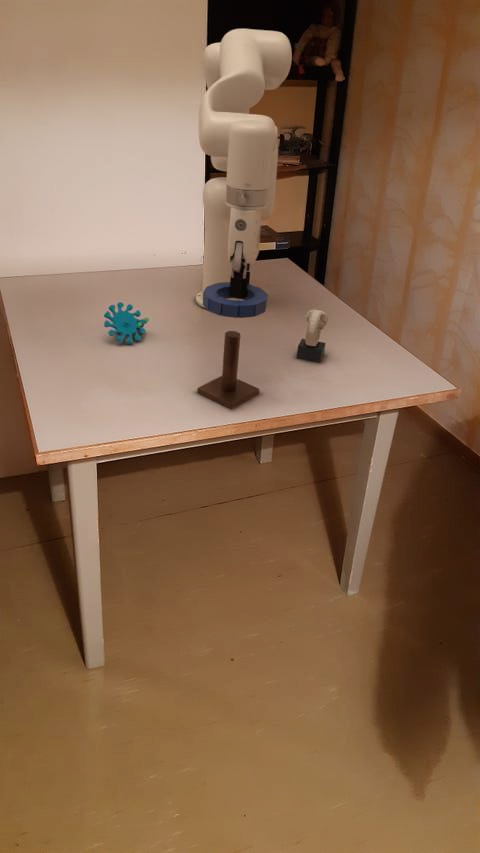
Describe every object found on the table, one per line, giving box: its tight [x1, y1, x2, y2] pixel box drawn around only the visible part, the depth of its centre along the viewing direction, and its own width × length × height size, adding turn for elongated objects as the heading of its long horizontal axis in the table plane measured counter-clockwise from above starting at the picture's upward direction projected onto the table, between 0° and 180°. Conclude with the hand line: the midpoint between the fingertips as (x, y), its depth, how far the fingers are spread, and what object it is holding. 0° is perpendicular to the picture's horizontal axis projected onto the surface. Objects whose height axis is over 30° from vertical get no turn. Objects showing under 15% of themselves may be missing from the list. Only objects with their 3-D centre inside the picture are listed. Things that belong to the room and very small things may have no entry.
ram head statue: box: [296, 309, 329, 364], centre depth 150 cm, size 6×8×11 cm
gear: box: [103, 301, 150, 345], centre depth 154 cm, size 11×6×10 cm
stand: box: [196, 330, 261, 410], centre depth 132 cm, size 9×9×13 cm
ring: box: [203, 282, 269, 319], centre depth 125 cm, size 12×12×2 cm
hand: (239, 293), depth 129 cm, fingers closed on ring, 2 cm apart
